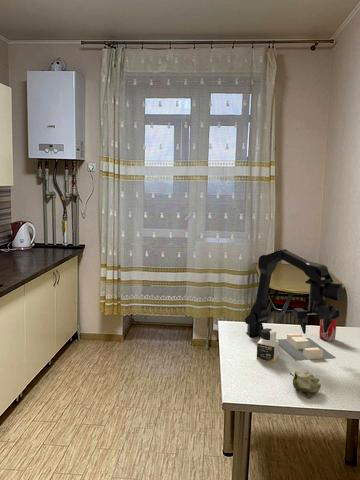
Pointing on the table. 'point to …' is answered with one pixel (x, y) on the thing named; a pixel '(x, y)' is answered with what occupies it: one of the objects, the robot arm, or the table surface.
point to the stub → (312, 352)
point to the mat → (301, 350)
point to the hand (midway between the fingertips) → (314, 332)
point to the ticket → (298, 341)
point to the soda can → (328, 331)
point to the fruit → (306, 383)
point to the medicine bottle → (267, 345)
